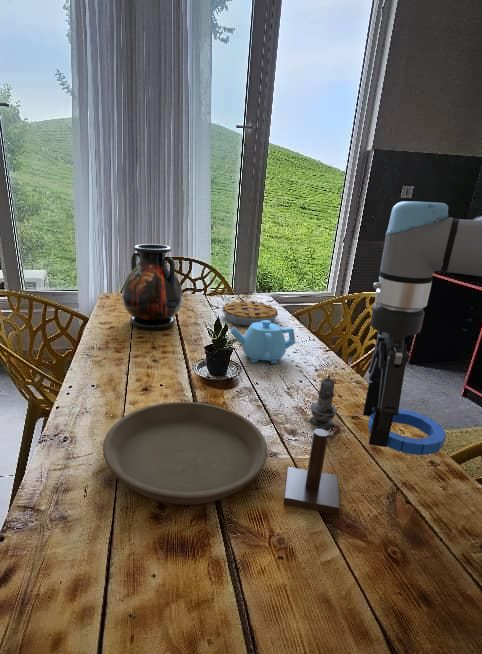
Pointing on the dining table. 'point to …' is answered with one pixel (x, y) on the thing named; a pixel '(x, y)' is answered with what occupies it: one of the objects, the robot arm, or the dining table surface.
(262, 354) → the teapot
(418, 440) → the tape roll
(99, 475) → the dining table surface
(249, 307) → the pie
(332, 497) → the peg stand
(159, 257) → the amphora vase
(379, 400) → the robot arm
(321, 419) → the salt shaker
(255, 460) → the plant saucer
